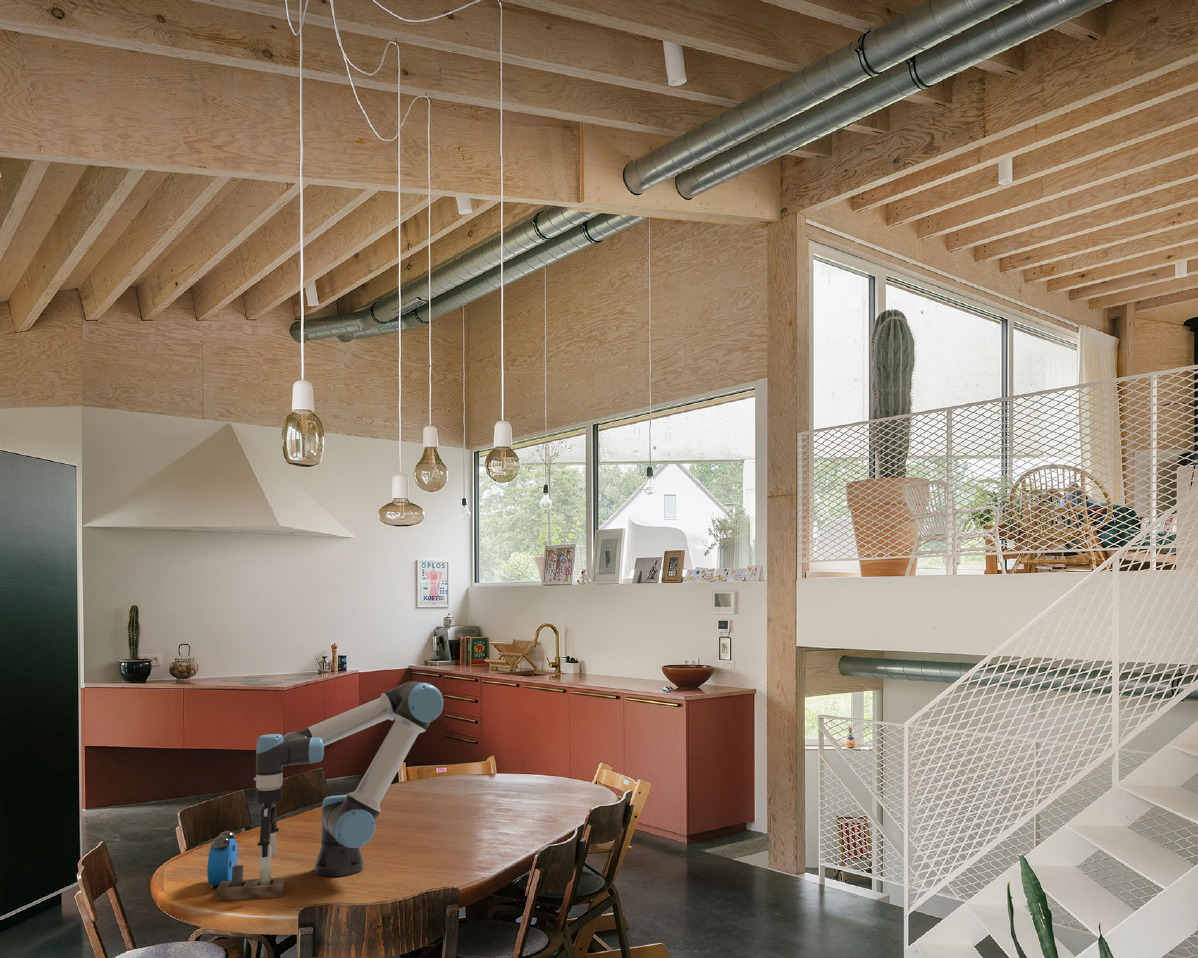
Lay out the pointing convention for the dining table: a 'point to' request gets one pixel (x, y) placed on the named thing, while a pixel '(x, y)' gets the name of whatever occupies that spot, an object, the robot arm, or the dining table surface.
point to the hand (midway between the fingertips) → (268, 861)
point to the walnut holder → (248, 887)
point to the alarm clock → (222, 858)
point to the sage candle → (265, 873)
